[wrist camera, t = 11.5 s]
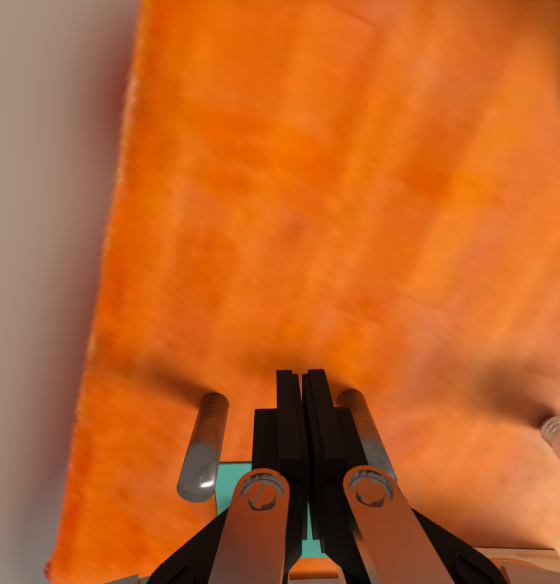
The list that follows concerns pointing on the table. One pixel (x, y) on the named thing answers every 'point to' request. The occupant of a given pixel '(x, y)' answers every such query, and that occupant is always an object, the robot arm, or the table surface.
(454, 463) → the table surface
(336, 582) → the stopper wall
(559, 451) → the light bulb
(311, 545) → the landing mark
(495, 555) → the coffeecake box
